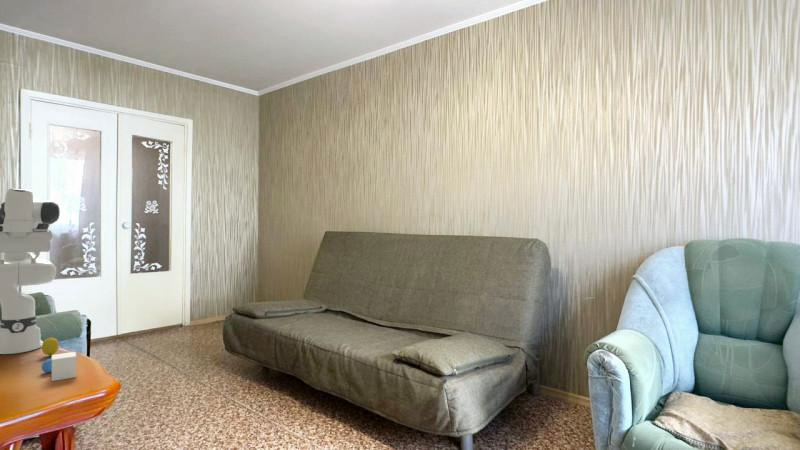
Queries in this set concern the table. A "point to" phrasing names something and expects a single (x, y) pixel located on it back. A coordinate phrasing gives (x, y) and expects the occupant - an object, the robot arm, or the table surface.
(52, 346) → the lemon
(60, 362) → the matte ivory cube
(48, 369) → the ball
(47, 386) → the table surface
